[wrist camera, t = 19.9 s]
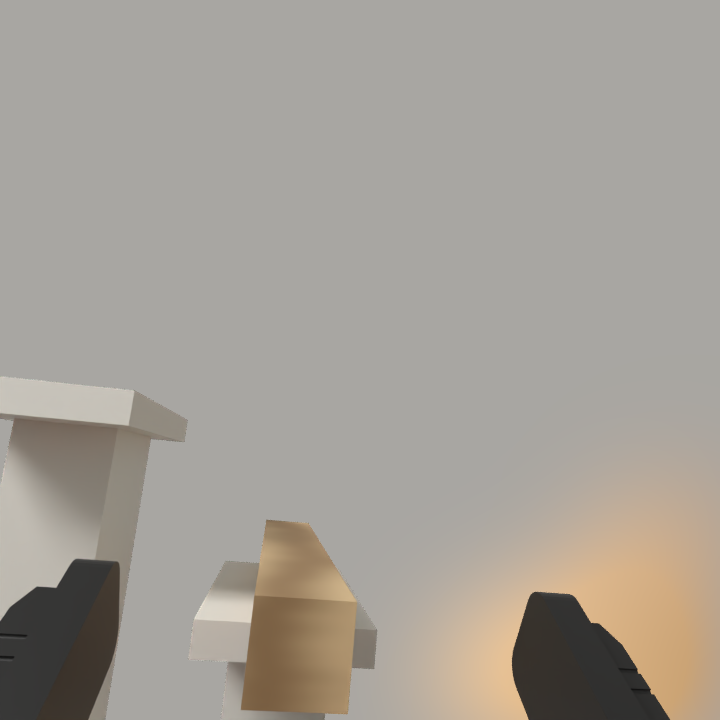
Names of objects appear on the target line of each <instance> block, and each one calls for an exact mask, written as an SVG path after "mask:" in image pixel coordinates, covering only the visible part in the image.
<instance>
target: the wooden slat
mask: <svg viewBox="0 0 720 720" xmlns="http://www.w3.org/2000/svg"><path fill="white" fill-rule="evenodd" d="M356 611H357V601H356V599H355V598H354V596H353V594H352V593H351V591H350V589H349V588H348V586H347V585H346V583H345V581H344V580H343V578H342V577H341V575H340V573H339V572H338V570H337V568H336V567H335V565H334V564H333V562H332V560H331V559H330V557H329V556H328V554H327V552H326V551H325V549H324V548H323V546H322V544H321V543H320V542H319V540H318V538H317V536H316V535H315V533H314V531H313V530H312V528H311V527H310V525H309V523H298V522H286V521H273V520H266V527H265V533H264V539H263V545H262V551H261V557H260V563H259V570H258V576H257V582H256V588H255V594H254V602H253V611H252V619H251V627H250V636H249V644H248V652H247V661H246V669H245V677H244V686H243V694H242V703H241V710H252V711H278V712H304V713H329V714H348V704H349V693H350V681H351V669H352V658H353V646H354V634H355V623H356Z"/></svg>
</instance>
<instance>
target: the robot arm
mask: <svg viewBox="0 0 720 720" xmlns="http://www.w3.org/2000/svg"><path fill="white" fill-rule="evenodd" d="M119 592H120V565H119V563H118V562H117V561H105V560H90V559H75V560H73V561H72V563H71V564H70V566H69V567H68V569H67V571H66V572H65V574H64V576H63V577H62V579H61V581H60V582H59V584H58V586H57V587H56V588H53V587H38V586H37V587H35V588H34V589H33V590H32V591H30V592H29V593H28V594H26V595H25V596H24V597H22V598H21V599H20V600H18V601H17V602H16V603H15V604H13V605H12V606H11V607H9V609H8V610H7V612H6V613H5V615H4V616H3V618H2V619H1V621H0V720H88V719H89V717H90V714H91V712H92V709H93V707H94V704H95V702H96V699H97V697H98V694H99V692H100V689H101V687H102V684H103V682H104V679H105V677H106V674H107V672H108V670H109V667H110V664H111V662H112V659H113V655H114V651H115V647H116V643H117V637H118V629H119ZM512 670H513V677H514V681H515V685H516V688H517V691H518V693H519V696H520V698H521V701H522V703H523V706H524V708H525V711H526V713H527V716H528V719H529V720H670V719H669V717H668V716H667V714H666V713H665V711H664V709H663V708H662V706H661V705H660V703H659V702H658V700H657V699H656V697H655V695H652V694H651V692H650V690H651V689H650V688H649V686H648V685H647V683H646V682H645V680H644V678H643V677H642V675H641V674H638V672H637V668H636V666H635V664H634V663H633V661H632V660H631V658H630V657H629V655H628V653H627V652H626V650H625V649H624V647H623V646H622V644H620V643H619V642H618V641H617V640H616V639H615V638H614V637H613V636H612V635H611V634H610V633H609V632H608V631H606V630H605V629H604V628H603V627H602V626H601V625H600V624H598V623H591V622H590V621H589V619H588V618H587V616H586V614H585V612H584V611H583V609H582V608H581V606H580V604H579V603H578V601H577V600H576V598H575V597H574V596H572V595H570V594H558V593H545V592H534V593H532V594H531V595H530V597H529V600H528V603H527V606H526V610H525V613H524V616H523V619H522V623H521V626H520V629H519V633H518V636H517V639H516V643H515V646H514V650H513V657H512Z"/></svg>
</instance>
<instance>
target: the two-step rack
mask: <svg viewBox="0 0 720 720" xmlns="http://www.w3.org/2000/svg"><path fill="white" fill-rule="evenodd" d="M0 419H5V420H11V421H14V423H13V427H12V432H11V437H10V442H9V446H8V451H7V456H6V460H5V465H4V470H3V475H2V479H1V484H0V621H1V619H2V618H3V616H4V615H5V613H6V612H7V610H8V609H9V607H11V606H12V605H13V604H15V603H16V602H17V601H18V600H20V599H21V598H22V597H24V596H25V595H26V594H28V593H29V592H30V591H32V590H33V589H34V588H35V587H37V586H38V587H53V588H56V587H57V586H58V584H59V582H60V581H61V579H62V577H63V576H64V574H65V572H66V571H67V569H68V567H69V566H70V564H71V563H72V561H73V560H75V559H90V560H105V561H117V562H118V563H119V565H120V592H119V629H118V637H119V631H120V624H121V619H122V613H123V606H124V600H125V594H126V588H127V582H128V576H129V570H130V563H131V557H132V551H133V545H134V539H135V533H136V527H137V520H138V514H139V508H140V502H141V495H142V490H143V484H144V477H145V471H146V465H147V459H148V452H149V447H150V440H151V439H158V440H167V441H179V442H184V441H185V434H186V427H187V419H185V418H183V417H181V416H180V415H178V414H176V413H174V412H172V411H171V410H169V409H167V408H165V407H163V406H162V405H160V404H158V403H156V402H154V401H153V400H150V399H149V398H147V397H146V396H144V395H142V394H140V393H138V392H136V391H135V390H126V389H116V388H107V387H97V386H87V385H78V384H69V383H59V382H50V381H41V380H31V379H22V378H12V377H3V376H0ZM258 570H259V563H248V562H234V561H225V563H224V565H223V567H222V569H221V570H220V573H219V574H218V576H217V578H216V580H215V581H214V583H213V585H212V587H211V589H210V591H209V593H208V594H207V596H206V598H205V600H204V602H203V604H202V605H201V607H200V609H199V611H198V613H197V614H196V616H195V618H194V622H193V629H192V636H191V643H190V651H189V658H188V660H204V661H225V662H228V665H227V673H226V681H225V689H224V697H223V705H222V713H221V720H324V718H325V713H304V712H278V711H252V710H241V703H242V694H243V686H244V677H245V669H246V661H247V652H248V644H249V636H250V627H251V619H252V611H253V602H254V594H255V588H256V582H257V576H258ZM337 570H338V572H339V573H340V575H341V577H342V578H343V580H344V581H345V583H346V585H347V586H348V588H349V589H350V591H351V593H352V594H353V596H354V598H355V599H356V601H357V611H356V623H355V634H354V646H353V658H352V668H364V669H374V664H375V651H376V637H377V629H376V627H375V626H374V624H373V623H372V621H371V620H370V618H369V616H368V615H367V613H366V612H365V610H364V608H363V607H362V605H361V604H360V602H359V600H358V599H357V597H356V596H355V594H354V593H353V591H352V589H351V588H350V586H349V585H348V583H347V581H346V580H345V579H344V577H343V575H342V573H341V572H340V570H339V569H337ZM118 637H117V643H116V647H115V651H114V655H113V659H112V662H111V664H110V667H109V670H108V672H107V674H106V677H105V679H104V682H103V684H102V687H101V689H100V692H99V694H98V697H97V699H96V702H95V704H94V707H93V709H92V712H91V714H90V717H89V719H88V720H105V717H106V711H107V705H108V699H109V693H110V687H111V681H112V674H113V668H114V662H115V656H116V649H117V644H118Z"/></svg>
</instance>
